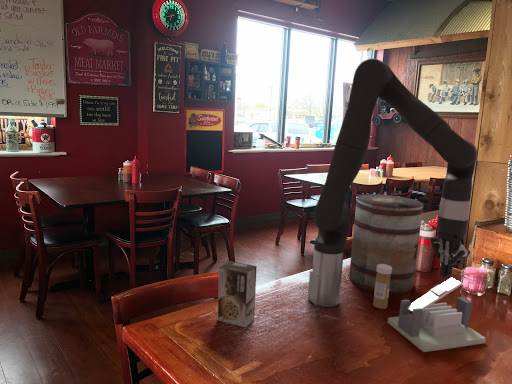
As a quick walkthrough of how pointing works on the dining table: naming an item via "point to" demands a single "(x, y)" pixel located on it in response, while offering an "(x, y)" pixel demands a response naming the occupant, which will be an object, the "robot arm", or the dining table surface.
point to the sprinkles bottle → (382, 286)
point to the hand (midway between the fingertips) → (445, 276)
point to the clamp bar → (434, 294)
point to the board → (437, 325)
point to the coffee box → (236, 293)
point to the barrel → (385, 241)
